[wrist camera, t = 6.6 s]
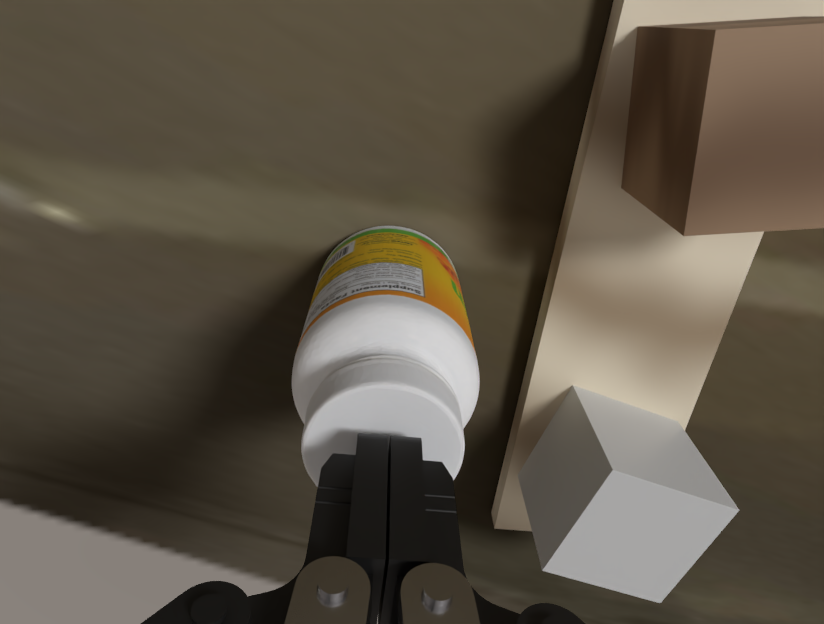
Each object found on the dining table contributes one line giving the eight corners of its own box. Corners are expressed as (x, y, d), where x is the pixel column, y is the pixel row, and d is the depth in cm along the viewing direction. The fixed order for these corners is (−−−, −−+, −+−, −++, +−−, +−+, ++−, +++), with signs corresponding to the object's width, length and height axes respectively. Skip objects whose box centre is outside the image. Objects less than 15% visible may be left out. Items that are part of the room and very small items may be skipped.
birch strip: (634, -87, 18) (646, -93, 17) (855, -54, 18) (879, -58, 17) (491, 512, 28) (494, 528, 27) (633, 523, 29) (641, 539, 28)
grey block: (572, 385, 24) (612, 469, 20) (677, 421, 25) (739, 510, 20) (517, 475, 26) (542, 570, 22) (616, 505, 27) (660, 603, 22)
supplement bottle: (458, 346, 24) (492, 531, 16) (326, 352, 24) (286, 540, 16) (458, 219, 22) (498, 352, 13) (311, 224, 22) (254, 362, 13)
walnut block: (637, 26, 18) (716, 30, 14) (801, 16, 18) (933, 16, 14) (620, 187, 20) (683, 236, 16) (767, 179, 20) (871, 224, 16)
